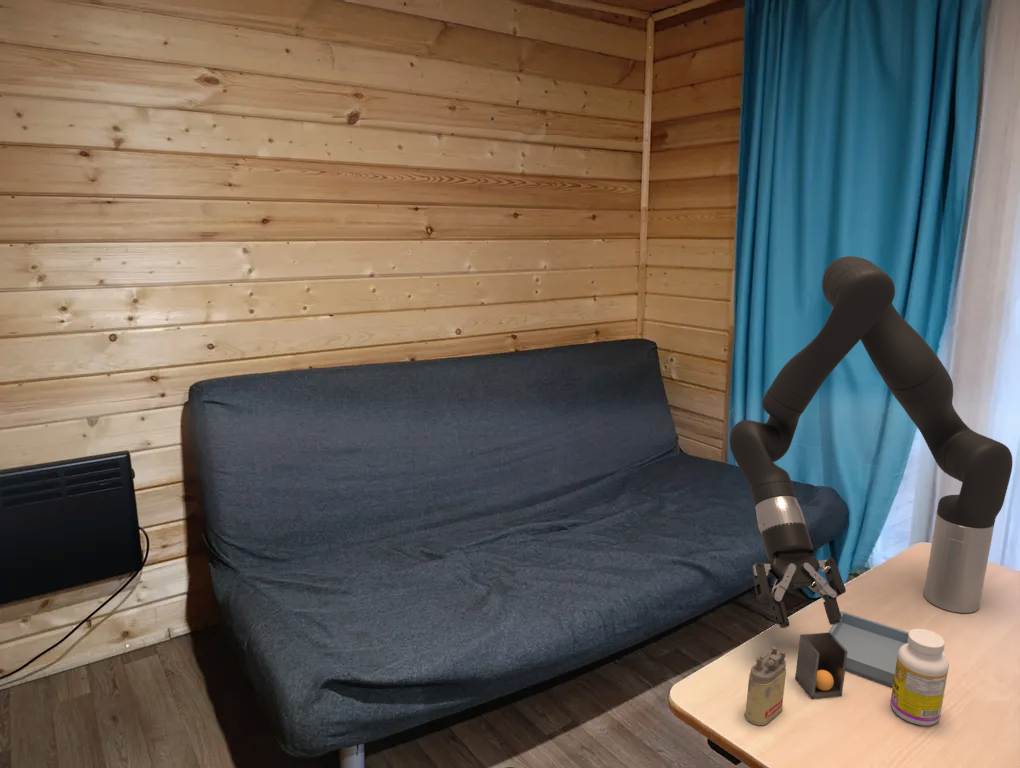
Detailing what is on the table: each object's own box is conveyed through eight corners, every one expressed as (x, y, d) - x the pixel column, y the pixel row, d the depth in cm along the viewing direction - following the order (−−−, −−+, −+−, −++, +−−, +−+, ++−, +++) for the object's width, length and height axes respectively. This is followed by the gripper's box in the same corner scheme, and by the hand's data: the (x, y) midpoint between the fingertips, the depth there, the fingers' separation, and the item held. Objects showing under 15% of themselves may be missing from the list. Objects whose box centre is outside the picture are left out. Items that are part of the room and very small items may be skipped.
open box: (795, 678, 119) (800, 634, 117) (824, 675, 119) (829, 632, 117) (811, 699, 114) (817, 653, 112) (841, 696, 115) (847, 651, 113)
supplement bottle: (895, 691, 116) (907, 619, 112) (943, 710, 112) (956, 635, 108) (884, 714, 111) (896, 639, 107) (934, 734, 107) (948, 657, 103)
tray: (839, 622, 134) (840, 610, 133) (913, 647, 127) (915, 634, 126) (817, 660, 123) (819, 647, 123) (896, 689, 116) (898, 675, 116)
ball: (814, 668, 117) (823, 663, 115) (831, 681, 117) (840, 677, 114) (806, 683, 116) (815, 679, 114) (823, 696, 115) (832, 692, 113)
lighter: (760, 729, 108) (767, 670, 105) (738, 715, 110) (743, 657, 108) (786, 708, 112) (793, 650, 109) (764, 695, 115) (770, 639, 112)
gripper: (751, 522, 122) (777, 623, 114) (832, 518, 124) (863, 617, 116) (735, 537, 128) (759, 633, 120) (812, 533, 130) (840, 627, 122)
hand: (810, 625), depth 118 cm, fingers open, 8 cm apart
